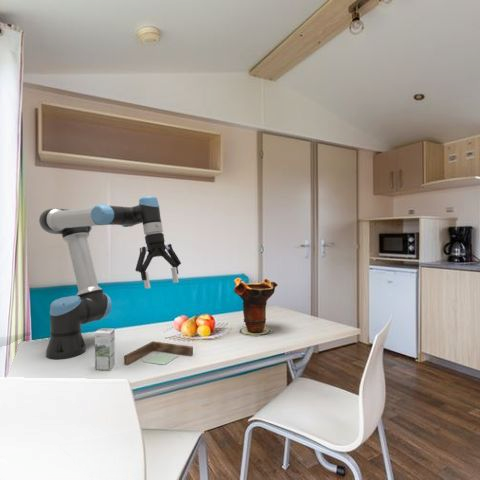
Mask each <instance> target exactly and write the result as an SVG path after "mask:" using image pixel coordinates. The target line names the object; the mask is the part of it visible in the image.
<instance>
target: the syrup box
mask: <svg viewBox="0 0 480 480" xmlns="http://www.w3.org/2000/svg"><path fill="white" fill-rule="evenodd" d="M115 333H116V332H115V328H99V329H97V330H96V331H95V332H94V367H95V369H94V370H95V371H111V370H112V369H113V368H114V366H115V365H116V355H115V353H116V351H115V349H116V347H115V346H116V345H115V344H116V343H115V339H116V336H115V335H116V334H115Z"/></svg>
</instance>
